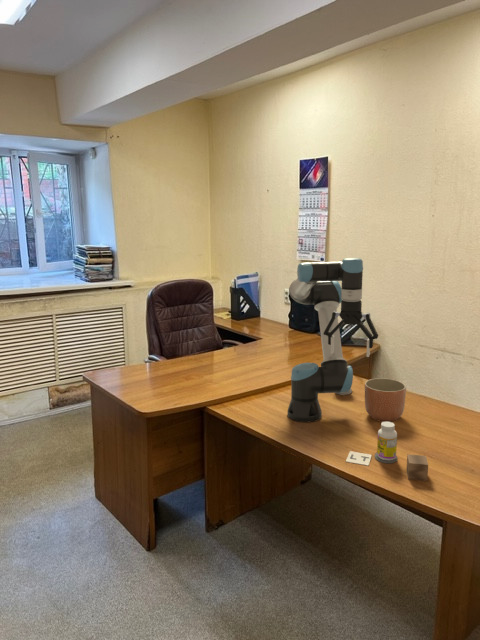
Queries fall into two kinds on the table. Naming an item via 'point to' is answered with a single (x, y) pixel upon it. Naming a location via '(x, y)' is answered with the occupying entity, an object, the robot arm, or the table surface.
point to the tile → (359, 458)
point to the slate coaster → (385, 460)
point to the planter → (385, 399)
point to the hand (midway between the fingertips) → (349, 354)
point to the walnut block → (417, 467)
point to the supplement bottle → (387, 441)
